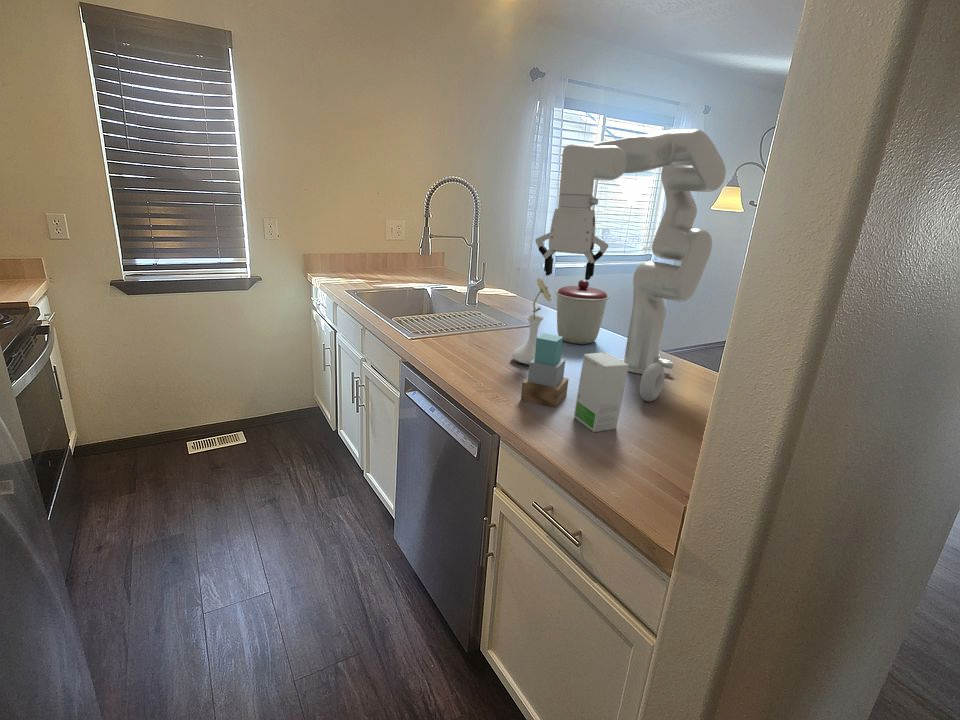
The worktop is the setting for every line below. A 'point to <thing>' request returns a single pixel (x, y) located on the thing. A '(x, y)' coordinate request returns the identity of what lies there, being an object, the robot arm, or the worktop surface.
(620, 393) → the skincare box
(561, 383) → the base block
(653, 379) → the donut
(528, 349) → the flower in vase
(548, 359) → the teal block
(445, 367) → the worktop surface
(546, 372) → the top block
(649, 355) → the robot arm
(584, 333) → the canister
